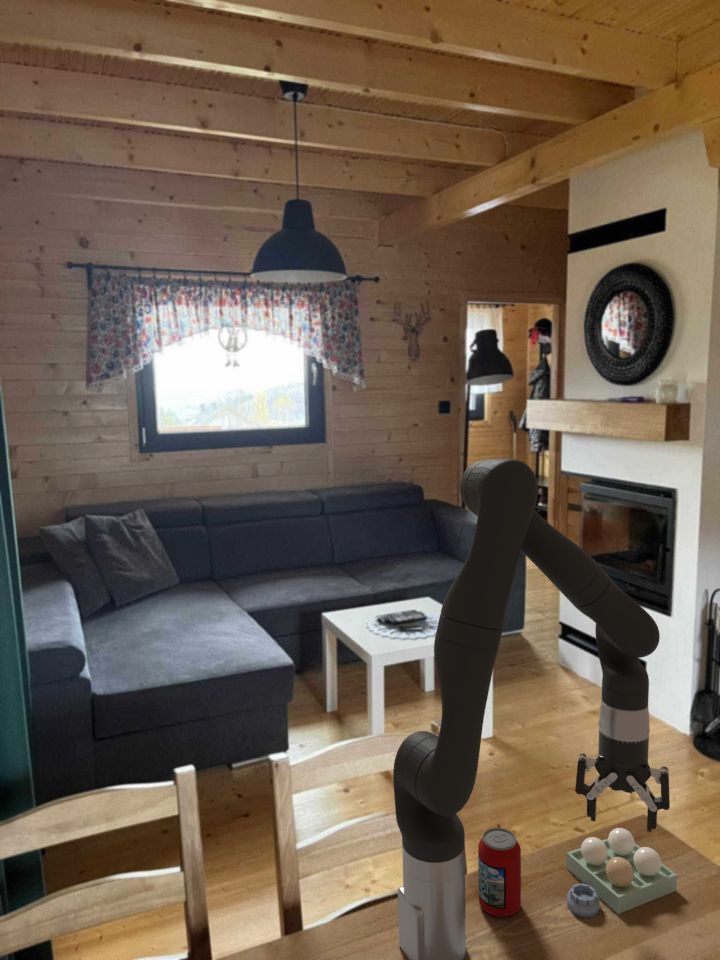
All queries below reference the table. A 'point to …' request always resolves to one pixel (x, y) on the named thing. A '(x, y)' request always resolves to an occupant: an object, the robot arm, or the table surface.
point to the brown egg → (619, 872)
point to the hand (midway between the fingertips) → (620, 823)
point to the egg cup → (583, 901)
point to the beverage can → (499, 872)
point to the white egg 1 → (594, 851)
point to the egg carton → (621, 897)
